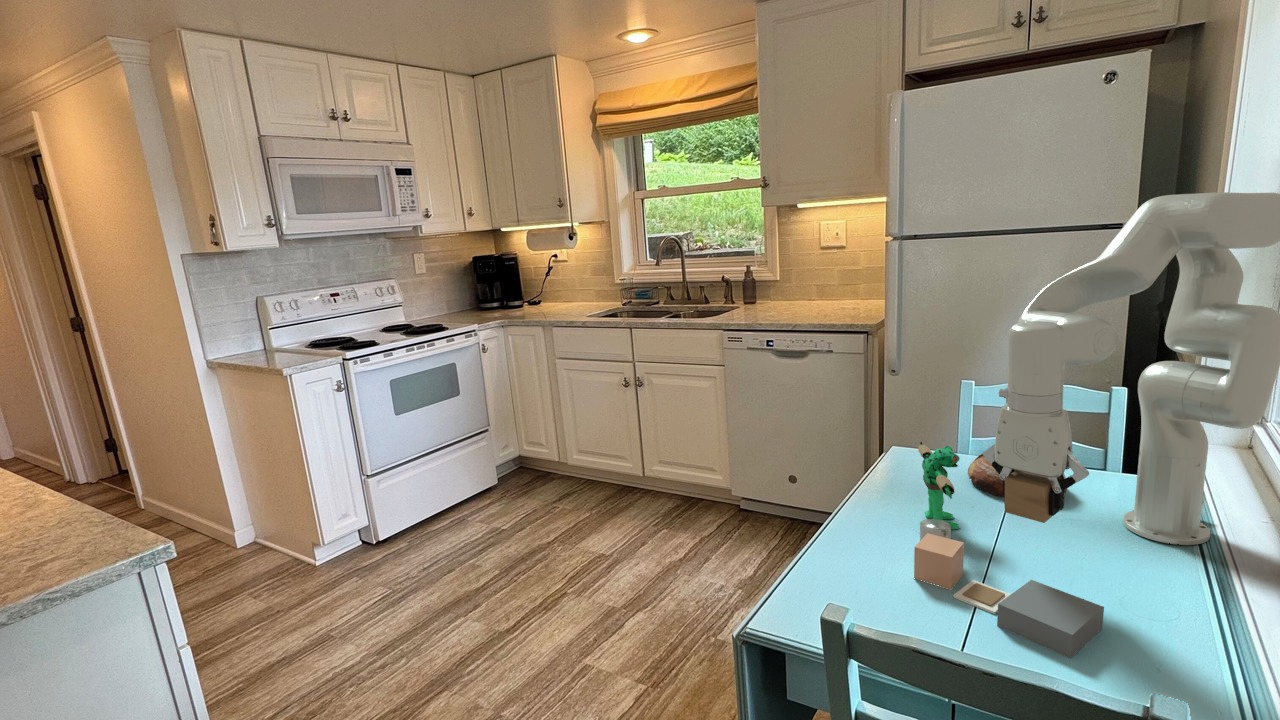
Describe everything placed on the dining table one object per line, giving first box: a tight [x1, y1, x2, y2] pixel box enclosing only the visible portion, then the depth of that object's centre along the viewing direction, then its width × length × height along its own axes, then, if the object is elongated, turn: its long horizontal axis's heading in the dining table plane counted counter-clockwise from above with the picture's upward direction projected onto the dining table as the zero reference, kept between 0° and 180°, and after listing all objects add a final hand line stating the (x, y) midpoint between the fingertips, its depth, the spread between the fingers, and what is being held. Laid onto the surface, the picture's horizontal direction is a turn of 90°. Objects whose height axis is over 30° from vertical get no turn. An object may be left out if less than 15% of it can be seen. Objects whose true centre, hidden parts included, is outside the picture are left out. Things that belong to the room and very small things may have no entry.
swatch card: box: [952, 579, 1012, 615], centre depth 106 cm, size 6×6×1 cm
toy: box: [917, 441, 961, 530], centre depth 131 cm, size 26×6×15 cm, turn 168°
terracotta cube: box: [913, 533, 965, 590], centre depth 113 cm, size 6×6×6 cm
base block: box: [996, 579, 1105, 659], centre depth 98 cm, size 10×10×4 cm
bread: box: [967, 453, 1068, 498], centre depth 145 cm, size 16×20×10 cm
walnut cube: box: [1004, 470, 1053, 524], centre depth 108 cm, size 6×6×6 cm
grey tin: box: [919, 518, 952, 542], centre depth 119 cm, size 5×5×6 cm
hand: (1032, 505), depth 108 cm, fingers closed on walnut cube, 6 cm apart
